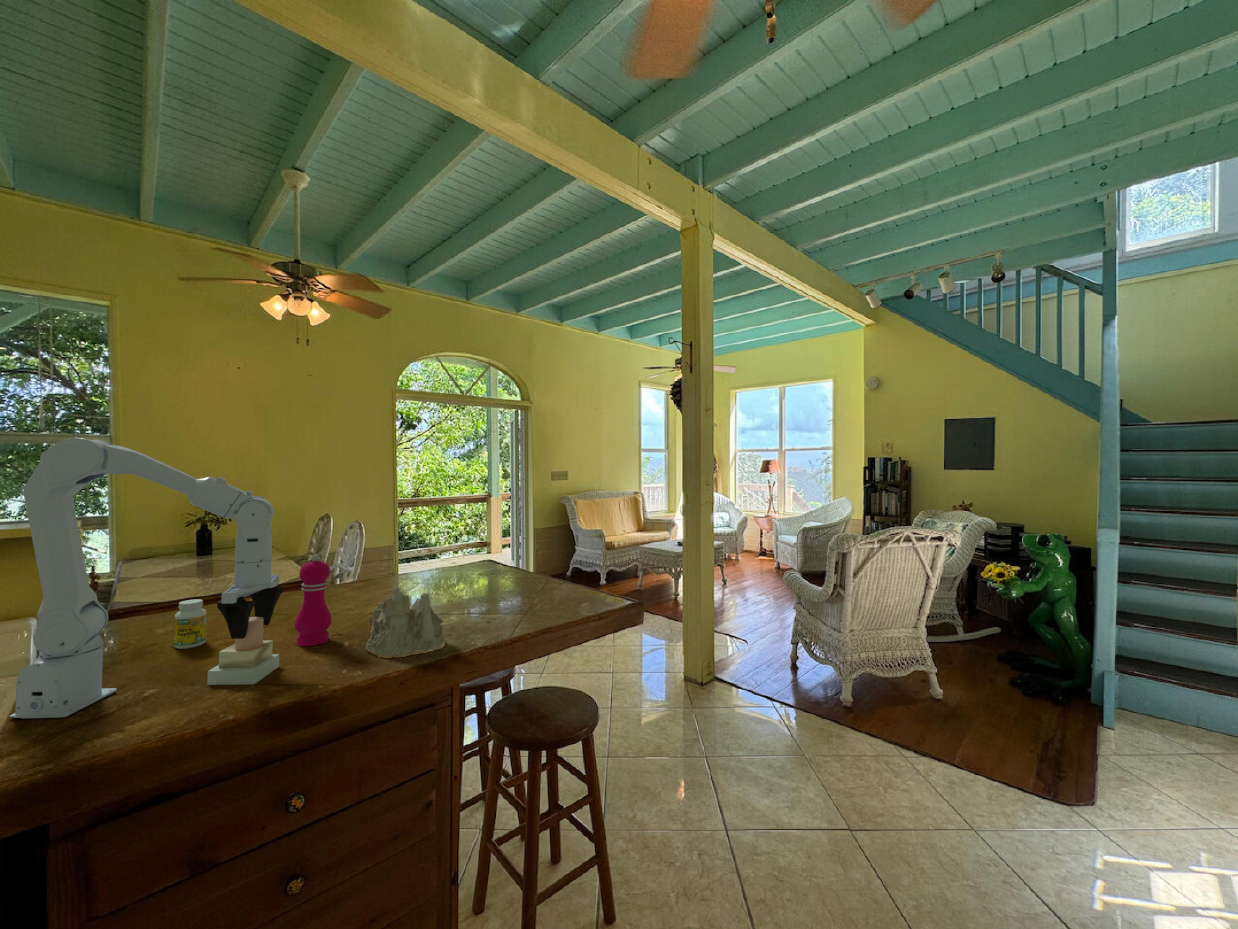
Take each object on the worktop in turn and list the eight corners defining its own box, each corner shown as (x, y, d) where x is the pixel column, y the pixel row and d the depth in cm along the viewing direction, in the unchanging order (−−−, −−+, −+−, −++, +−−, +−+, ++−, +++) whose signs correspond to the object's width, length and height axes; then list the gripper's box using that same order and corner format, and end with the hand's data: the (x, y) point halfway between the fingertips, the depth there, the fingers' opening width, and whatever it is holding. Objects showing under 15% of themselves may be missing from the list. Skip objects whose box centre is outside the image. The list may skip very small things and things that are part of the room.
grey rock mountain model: (449, 650, 111) (448, 582, 112) (367, 665, 103) (365, 592, 104) (437, 633, 125) (436, 572, 125) (364, 645, 117) (362, 581, 117)
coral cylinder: (252, 650, 94) (253, 623, 94) (228, 650, 93) (229, 623, 93) (268, 642, 98) (268, 616, 98) (245, 642, 98) (246, 616, 98)
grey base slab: (254, 686, 92) (254, 670, 92) (207, 687, 91) (207, 671, 91) (278, 669, 100) (279, 654, 100) (235, 669, 99) (236, 654, 99)
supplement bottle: (207, 639, 114) (208, 597, 114) (204, 646, 109) (205, 602, 109) (176, 643, 111) (177, 600, 111) (171, 651, 106) (172, 606, 106)
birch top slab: (253, 667, 93) (253, 651, 93) (218, 668, 93) (219, 651, 93) (272, 655, 99) (272, 640, 99) (240, 655, 99) (240, 640, 99)
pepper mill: (288, 648, 110) (291, 557, 110) (300, 637, 117) (303, 551, 117) (325, 646, 111) (328, 556, 112) (334, 635, 118) (337, 551, 119)
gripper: (252, 568, 89) (250, 644, 89) (295, 553, 104) (293, 619, 103) (209, 568, 88) (207, 645, 88) (258, 553, 103) (256, 619, 103)
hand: (251, 631), depth 96 cm, fingers open, 7 cm apart
